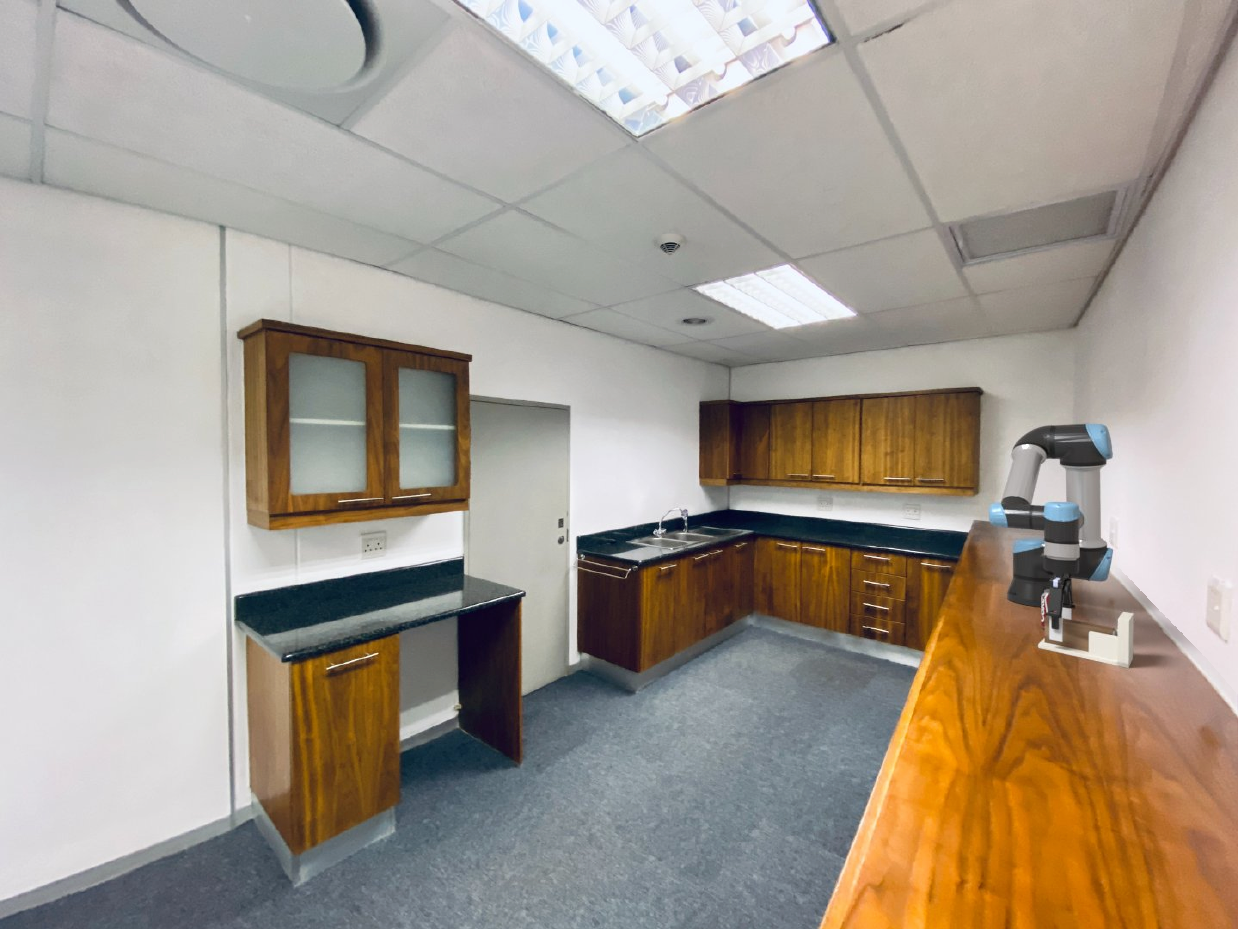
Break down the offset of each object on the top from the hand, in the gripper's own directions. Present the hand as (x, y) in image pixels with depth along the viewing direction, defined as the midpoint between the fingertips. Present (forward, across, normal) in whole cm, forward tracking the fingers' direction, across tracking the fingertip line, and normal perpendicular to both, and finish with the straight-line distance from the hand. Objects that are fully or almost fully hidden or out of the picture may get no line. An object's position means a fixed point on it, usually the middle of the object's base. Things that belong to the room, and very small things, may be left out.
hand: (1060, 635), depth 143 cm
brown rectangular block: (+2, 0, +4) cm, 5 cm away
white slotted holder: (+3, 0, +5) cm, 6 cm away
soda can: (+4, -16, -4) cm, 17 cm away
